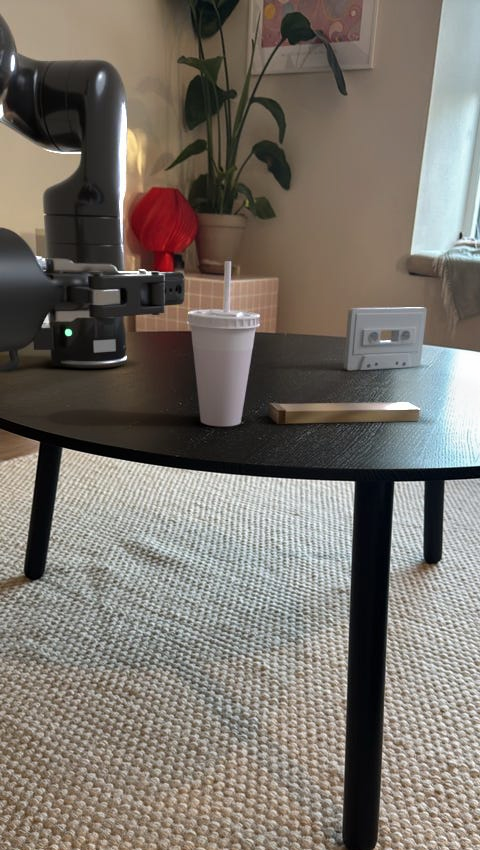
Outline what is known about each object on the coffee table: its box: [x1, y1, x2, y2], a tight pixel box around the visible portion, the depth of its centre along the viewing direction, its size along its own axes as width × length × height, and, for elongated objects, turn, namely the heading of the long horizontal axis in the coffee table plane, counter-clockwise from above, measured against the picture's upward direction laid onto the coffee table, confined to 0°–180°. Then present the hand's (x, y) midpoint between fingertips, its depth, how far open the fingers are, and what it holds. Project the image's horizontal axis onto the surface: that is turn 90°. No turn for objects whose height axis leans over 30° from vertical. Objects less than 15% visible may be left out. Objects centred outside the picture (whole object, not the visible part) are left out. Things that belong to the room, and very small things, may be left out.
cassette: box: [343, 306, 428, 372], centre depth 98 cm, size 12×2×8 cm, turn 116°
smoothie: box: [186, 260, 260, 427], centre depth 67 cm, size 6×6×14 cm
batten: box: [269, 401, 421, 425], centre depth 72 cm, size 14×3×1 cm, turn 102°
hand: (138, 283), depth 57 cm, fingers open, 8 cm apart
